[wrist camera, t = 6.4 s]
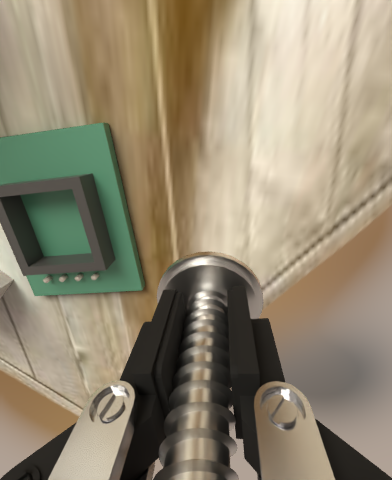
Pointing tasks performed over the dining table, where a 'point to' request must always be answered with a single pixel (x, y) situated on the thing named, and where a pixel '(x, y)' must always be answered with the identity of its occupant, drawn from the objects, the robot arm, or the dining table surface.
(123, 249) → the board
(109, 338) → the dining table surface
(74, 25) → the dining table surface
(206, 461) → the screw
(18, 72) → the dining table surface
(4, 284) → the tea bag
